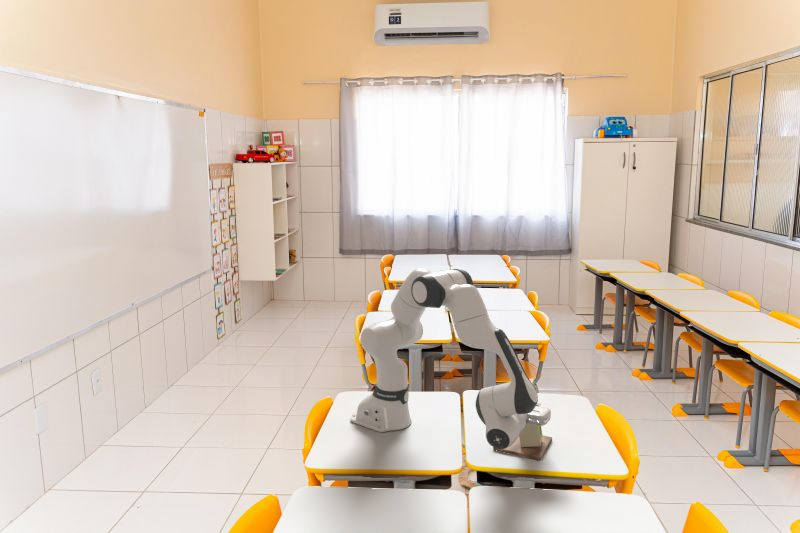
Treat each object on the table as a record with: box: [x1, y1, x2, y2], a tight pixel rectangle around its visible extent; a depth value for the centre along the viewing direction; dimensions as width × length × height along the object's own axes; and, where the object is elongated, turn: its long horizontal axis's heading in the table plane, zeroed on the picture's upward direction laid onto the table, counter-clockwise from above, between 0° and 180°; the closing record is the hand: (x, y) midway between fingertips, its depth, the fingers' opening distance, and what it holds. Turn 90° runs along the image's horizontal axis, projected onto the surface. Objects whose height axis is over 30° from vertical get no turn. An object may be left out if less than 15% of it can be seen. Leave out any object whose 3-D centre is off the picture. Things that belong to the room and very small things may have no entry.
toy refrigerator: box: [519, 378, 543, 447], centre depth 212 cm, size 8×7×21 cm
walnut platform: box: [492, 434, 553, 462], centre depth 215 cm, size 16×16×1 cm
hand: (524, 402), depth 211 cm, fingers open, 8 cm apart
